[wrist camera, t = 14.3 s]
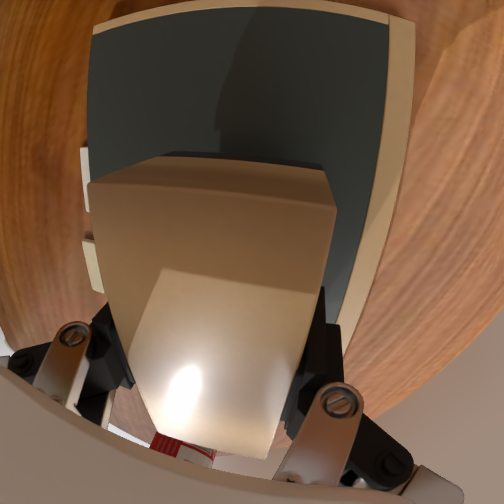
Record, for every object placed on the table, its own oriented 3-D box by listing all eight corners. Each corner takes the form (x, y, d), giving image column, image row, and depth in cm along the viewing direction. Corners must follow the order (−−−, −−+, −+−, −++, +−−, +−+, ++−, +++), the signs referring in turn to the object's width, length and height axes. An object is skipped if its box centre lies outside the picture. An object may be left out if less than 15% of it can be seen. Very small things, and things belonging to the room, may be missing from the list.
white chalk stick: (84, 146, 13) (79, 147, 13) (98, 145, 13) (93, 146, 13) (90, 209, 15) (86, 211, 15) (103, 211, 15) (99, 213, 15)
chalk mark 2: (93, 243, 16) (97, 240, 16) (81, 240, 16) (85, 238, 16) (105, 294, 17) (107, 291, 18) (92, 290, 18) (95, 287, 18)
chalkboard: (104, 28, 9) (93, 25, 9) (408, 27, 7) (415, 22, 7) (138, 358, 21) (133, 367, 20) (318, 398, 19) (318, 408, 18)
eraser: (173, 150, 9) (84, 182, 5) (322, 164, 8) (338, 207, 4) (188, 365, 14) (157, 432, 10) (279, 384, 13) (265, 460, 9)
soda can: (168, 408, 24) (125, 502, 14) (176, 386, 22) (123, 501, 11) (217, 428, 25) (185, 525, 14) (234, 410, 22) (198, 529, 11)
